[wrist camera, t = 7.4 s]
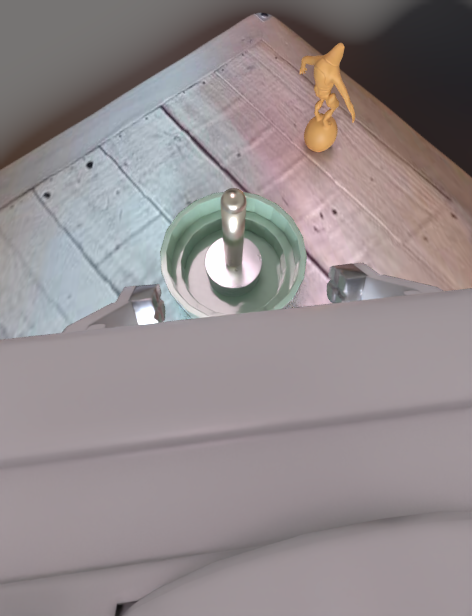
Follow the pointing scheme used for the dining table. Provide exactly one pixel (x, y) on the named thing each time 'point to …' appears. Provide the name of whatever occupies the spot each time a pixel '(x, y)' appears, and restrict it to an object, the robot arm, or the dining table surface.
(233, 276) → the meat pounder
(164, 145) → the dining table surface
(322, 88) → the figurine
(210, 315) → the bowl
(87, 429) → the robot arm
